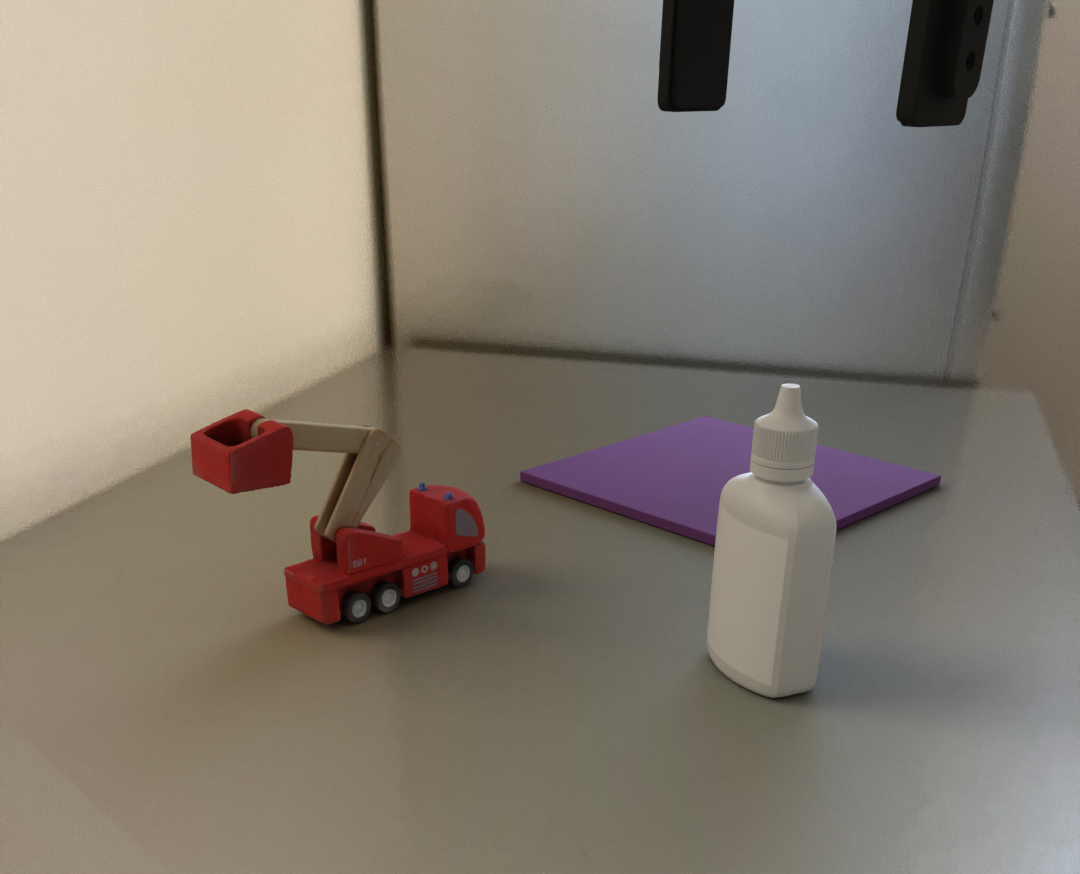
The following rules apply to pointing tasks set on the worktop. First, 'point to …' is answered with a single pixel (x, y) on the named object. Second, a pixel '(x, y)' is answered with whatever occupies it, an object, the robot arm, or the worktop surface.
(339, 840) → the worktop surface
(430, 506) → the toy fire truck
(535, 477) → the purple square mat
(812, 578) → the eye dropper bottle
